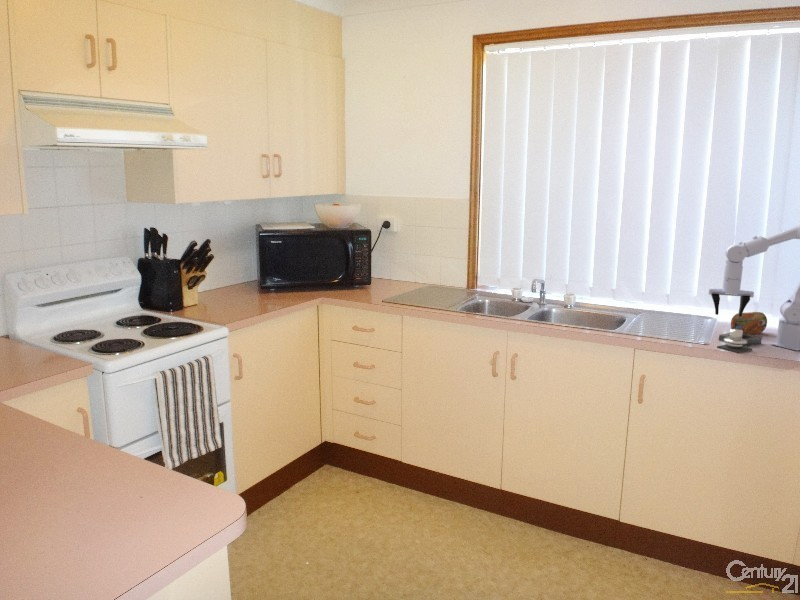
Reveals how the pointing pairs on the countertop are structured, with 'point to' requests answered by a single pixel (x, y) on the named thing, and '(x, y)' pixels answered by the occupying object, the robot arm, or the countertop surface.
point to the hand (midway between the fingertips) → (728, 315)
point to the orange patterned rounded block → (749, 322)
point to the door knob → (735, 339)
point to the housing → (750, 339)
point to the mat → (735, 349)
